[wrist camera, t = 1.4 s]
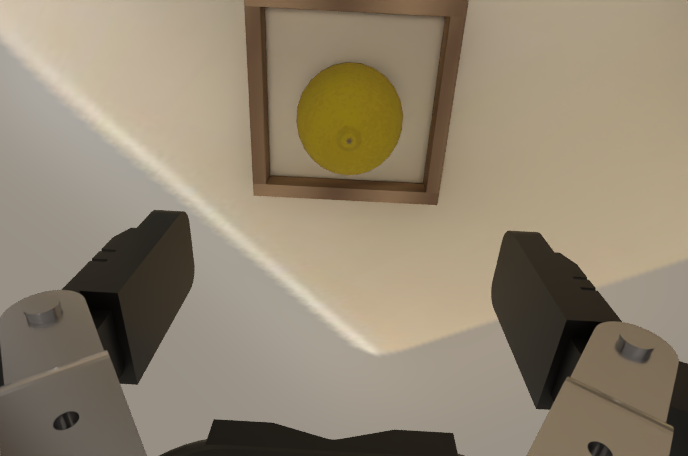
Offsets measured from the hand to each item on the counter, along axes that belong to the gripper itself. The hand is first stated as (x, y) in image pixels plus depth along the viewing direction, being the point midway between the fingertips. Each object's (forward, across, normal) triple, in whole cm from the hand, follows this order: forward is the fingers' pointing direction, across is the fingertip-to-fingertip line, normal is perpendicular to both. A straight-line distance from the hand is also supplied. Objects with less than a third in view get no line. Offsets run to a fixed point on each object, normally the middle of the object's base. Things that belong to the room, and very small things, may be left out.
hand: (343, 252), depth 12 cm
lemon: (+18, 0, 0) cm, 18 cm away
